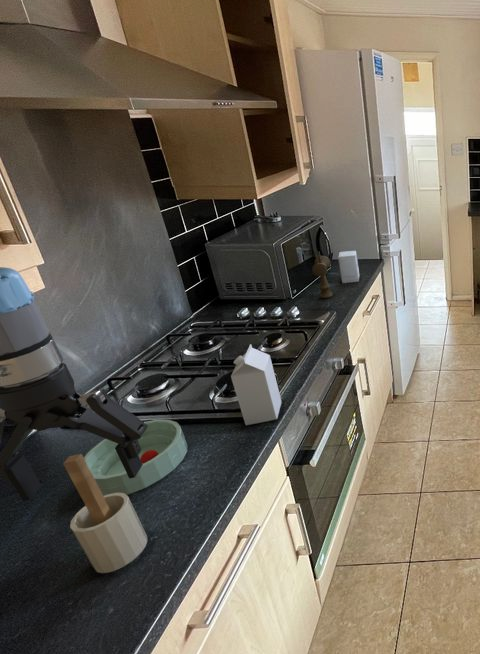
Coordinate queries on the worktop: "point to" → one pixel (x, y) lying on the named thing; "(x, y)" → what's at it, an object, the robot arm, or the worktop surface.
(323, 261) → the kendama
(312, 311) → the worktop surface
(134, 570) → the worktop surface
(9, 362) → the robot arm
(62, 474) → the worktop surface
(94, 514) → the stirring stick
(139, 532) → the crock
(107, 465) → the bowl
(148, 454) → the cherry tomato
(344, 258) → the white packaging box
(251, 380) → the milk carton
